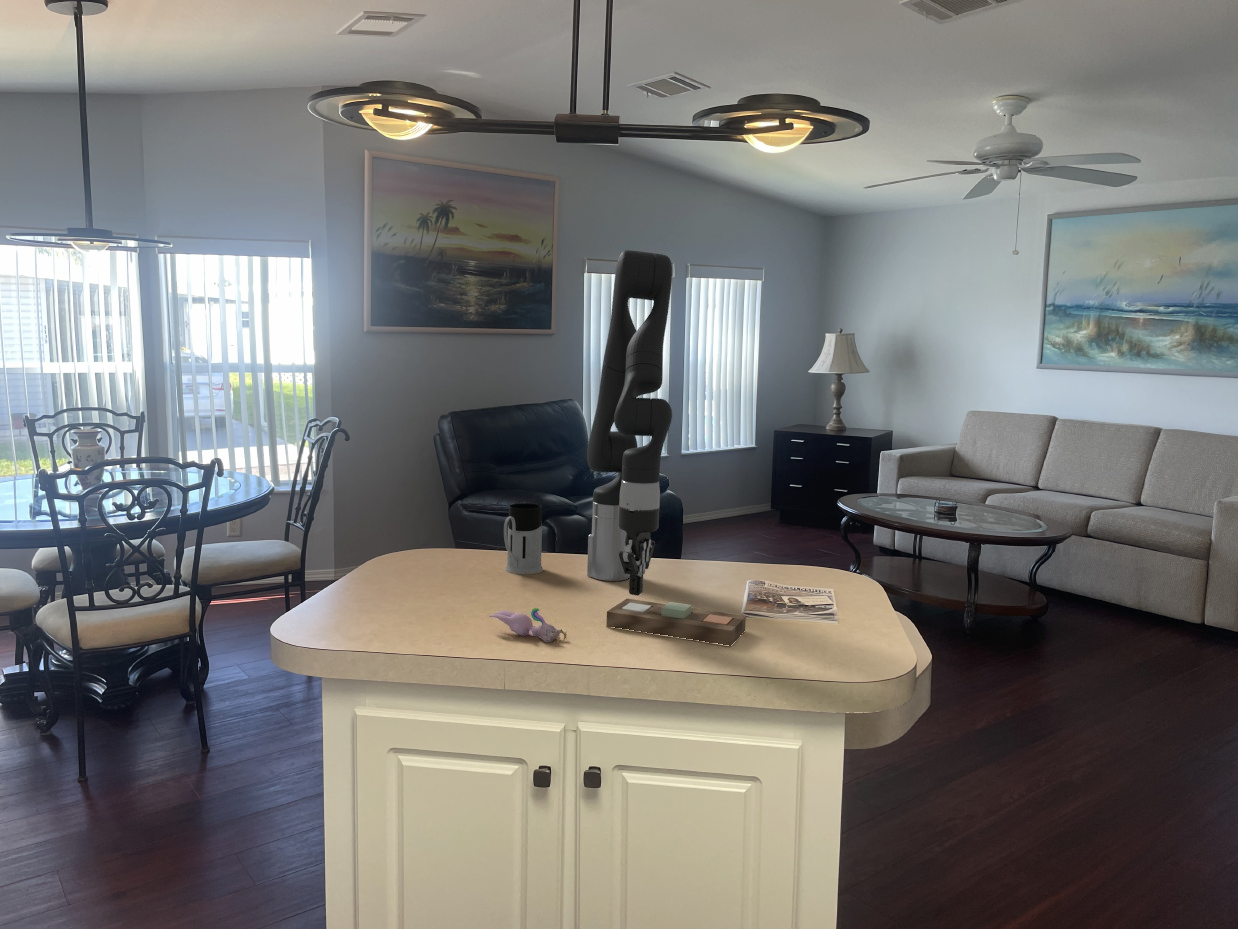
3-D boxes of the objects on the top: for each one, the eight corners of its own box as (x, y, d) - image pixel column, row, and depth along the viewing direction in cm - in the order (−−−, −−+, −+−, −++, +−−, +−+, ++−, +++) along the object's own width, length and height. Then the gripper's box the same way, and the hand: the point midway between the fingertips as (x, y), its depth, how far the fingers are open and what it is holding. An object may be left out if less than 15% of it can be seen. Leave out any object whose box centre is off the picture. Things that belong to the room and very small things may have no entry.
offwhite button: (621, 622, 169) (621, 608, 169) (629, 616, 174) (630, 602, 173) (642, 626, 168) (643, 611, 167) (650, 619, 172) (651, 605, 172)
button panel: (606, 627, 168) (606, 611, 167) (626, 613, 177) (626, 598, 176) (730, 647, 159) (731, 630, 158) (745, 631, 168) (746, 616, 167)
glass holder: (549, 567, 211) (550, 505, 209) (521, 581, 198) (523, 514, 196) (516, 563, 214) (517, 501, 212) (486, 576, 201) (487, 510, 199)
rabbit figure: (569, 645, 161) (499, 619, 167) (574, 614, 160) (504, 589, 166) (552, 655, 155) (480, 628, 161) (557, 623, 154) (485, 597, 160)
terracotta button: (702, 635, 163) (702, 620, 163) (709, 628, 168) (709, 614, 167) (725, 639, 162) (726, 624, 161) (731, 632, 166) (732, 617, 166)
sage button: (661, 622, 166) (661, 607, 166) (668, 616, 170) (669, 601, 170) (683, 625, 165) (684, 611, 164) (691, 619, 169) (691, 605, 168)
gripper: (634, 497, 175) (630, 583, 178) (606, 507, 163) (603, 600, 166) (670, 501, 172) (666, 588, 175) (645, 512, 160) (641, 606, 163)
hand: (635, 594), depth 170 cm, fingers closed
